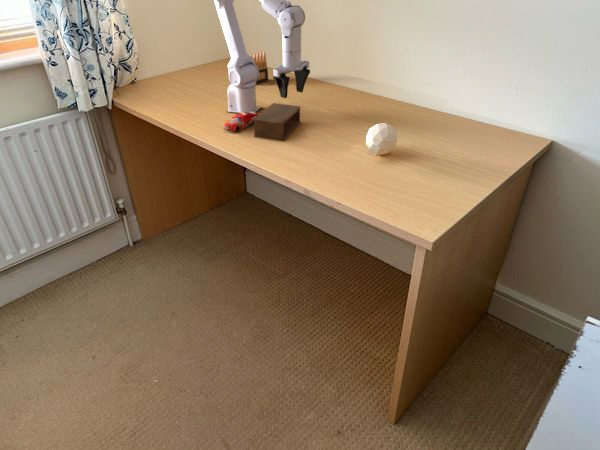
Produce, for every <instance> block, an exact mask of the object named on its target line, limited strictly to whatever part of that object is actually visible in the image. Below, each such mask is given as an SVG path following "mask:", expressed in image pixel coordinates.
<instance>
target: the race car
mask: <svg viewBox="0 0 600 450" xmlns="http://www.w3.org/2000/svg"><path fill="white" fill-rule="evenodd" d="M258 115H259V114H258V113H257V112H255V113H254V112H241V113H235V115H234V116H231V118H230V119H229V120H227V121H226V122H224V129H225V130H226V131H229V132H236V133H238V132H240V130H243V129H246V128H248V127H251V126H252V125H253V126H254V119H255V118H256V117H257V116H258Z"/></svg>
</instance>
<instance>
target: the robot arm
mask: <svg viewBox="0 0 600 450" xmlns="http://www.w3.org/2000/svg"><path fill="white" fill-rule="evenodd" d="M234 1H235V0H213V2H214V6H215V8H216V12H217V16H218V19H219V22H220V26H221V28H222V32H223V35H224V39H225V42H226V45H227V48H228V52H229V56H230V60H229V62H228V63H227V64H226V65H227V67H226V68H227V71H228V80H229V82H230V84H229V85H228V87H227V92H226V93H227V104H228V110H227V112H229V113H235V114H238V113H241V112H254V113H257V111H259V110H260V109H261V108H262V106H260V105H257V94H256V93H257V92H256V91H257V90H256V85H257V84H256V80H257V79H258V78H259V69H258V67H257V66H256V64H255V62H254V59H253V58H252V57H251V55H250V54H249V53H247V49H246V45H245V42H244V38H243V34H242V32H241V28H240V24H239V21H238V17H237V14H236V10H235V8H234ZM257 1H258V2H260V3H261V8H262V10H263V11H265V12H266V13H267V14H268V15H270V16H272V17H273V18H274V19H275V20H277V23H278V25H279V28H280V32H281V41H282V42H281V43H282V45H281V46H282V50H281V51H282V54H281V55H282V64H281V65H279V66H277V67H276V68H273V70H272V72H273V74H272V78H273V79H274V81H275V83H276V85H277V88H278V92H279V96H280V98H282V99H287V98H288V90H289V82H290V80H291V76H287V74H290V73H294V77H295V89H296V92H298V93H300V94H301V93H304V90H305V89H304V88H305V85H306V81H307V79H308V78H309V75H310V74H311V69H310V61H309V60H302V26H303V25H304V23H305V21H306V13H305V11H304V9H303V8H302V7H301V5H298V4H294V5H292V3H291V2H290V1H289V0H288V1H287V0H257Z"/></svg>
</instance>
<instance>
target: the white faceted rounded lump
mask: <svg viewBox="0 0 600 450" xmlns="http://www.w3.org/2000/svg"><path fill="white" fill-rule="evenodd" d="M397 143H398V133H397V131H396V130H395V128H394V126H393V125H390V124H388V123H386V122H382V123H381V122H380V123H377V124H375V125H373V126H371V127H369V129H368V131H367V133H366V135H365V145H366V146H367V148H368V152H367V155H368V156H371V157H373V158H376V157H377V156H382V155H387V154H388V153H390V152H393V150H394V149H395V147H396V145H397Z"/></svg>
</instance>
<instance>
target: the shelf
mask: <svg viewBox="0 0 600 450" xmlns="http://www.w3.org/2000/svg"><path fill="white" fill-rule="evenodd" d="M299 124H301V106H300V105H294V104H293V105H292V104H283V103H278V102H277V103H276V102H273V103H271V104H270V105H269V106H268V107H267V108H266V109H264V110H263V111H262V112H260V113H259V114H258V116H257V117H256V118H255V119H254V125H253V134H254V137H255V138H261V139H267V140H275V141H281V142H283V141H284V140H285V139H286V138H287V137H288V136H289V135H290V134H291V133H292V132H293V131H294V130H295V129H296V128H297V126H299Z"/></svg>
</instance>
